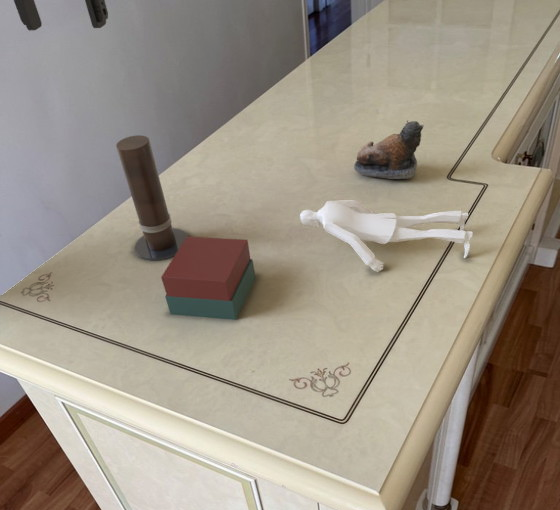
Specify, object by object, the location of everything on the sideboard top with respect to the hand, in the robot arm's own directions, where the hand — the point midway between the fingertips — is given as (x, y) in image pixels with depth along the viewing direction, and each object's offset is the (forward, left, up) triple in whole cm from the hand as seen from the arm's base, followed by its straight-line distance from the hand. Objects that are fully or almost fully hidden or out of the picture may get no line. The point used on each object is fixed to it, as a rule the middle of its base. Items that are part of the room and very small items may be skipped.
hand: (67, 27), depth 69 cm
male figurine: (+31, +22, -35) cm, 51 cm away
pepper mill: (-4, +12, -31) cm, 33 cm away
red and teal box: (+14, 0, -35) cm, 37 cm away
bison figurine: (+21, +43, -35) cm, 59 cm away
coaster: (-2, +7, -35) cm, 35 cm away
